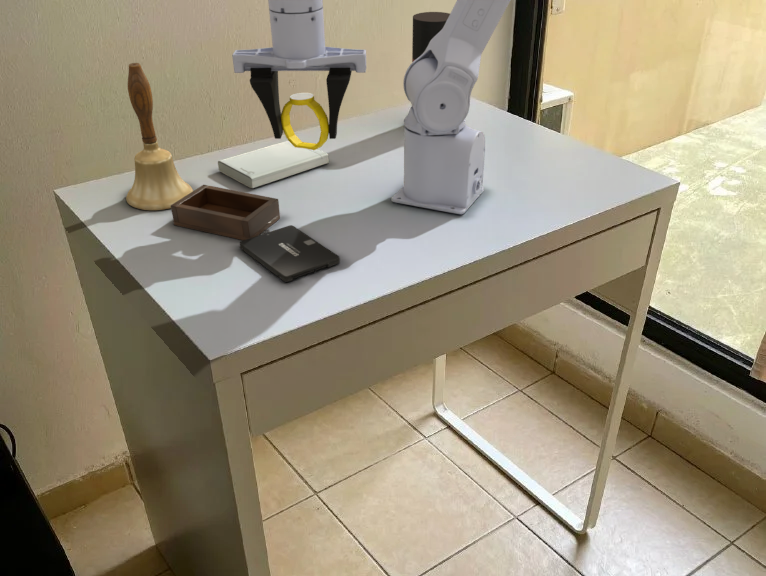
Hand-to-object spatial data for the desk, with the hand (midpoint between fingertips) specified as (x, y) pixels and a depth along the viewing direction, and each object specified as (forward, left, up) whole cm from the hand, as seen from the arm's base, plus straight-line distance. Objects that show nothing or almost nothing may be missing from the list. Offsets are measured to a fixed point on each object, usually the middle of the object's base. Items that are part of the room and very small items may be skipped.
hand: (305, 135), depth 90 cm
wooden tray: (+7, +9, -8) cm, 14 cm away
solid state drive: (-5, +13, -8) cm, 16 cm away
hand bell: (+18, +6, -9) cm, 21 cm away
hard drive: (+10, -8, -9) cm, 15 cm away
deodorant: (-3, -32, -9) cm, 33 cm away
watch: (0, 0, -2) cm, 2 cm away
